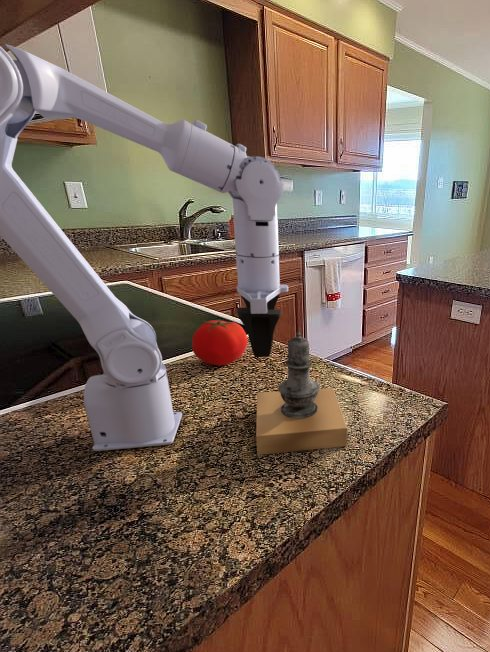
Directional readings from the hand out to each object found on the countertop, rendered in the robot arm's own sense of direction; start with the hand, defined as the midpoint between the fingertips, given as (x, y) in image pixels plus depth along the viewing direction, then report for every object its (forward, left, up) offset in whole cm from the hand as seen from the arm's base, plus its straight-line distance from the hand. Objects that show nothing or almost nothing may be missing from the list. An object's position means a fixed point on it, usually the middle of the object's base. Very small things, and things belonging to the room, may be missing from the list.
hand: (262, 346), depth 60 cm
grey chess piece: (+5, -7, -8) cm, 11 cm away
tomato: (-8, +19, -11) cm, 23 cm away
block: (+5, -7, -10) cm, 13 cm away
